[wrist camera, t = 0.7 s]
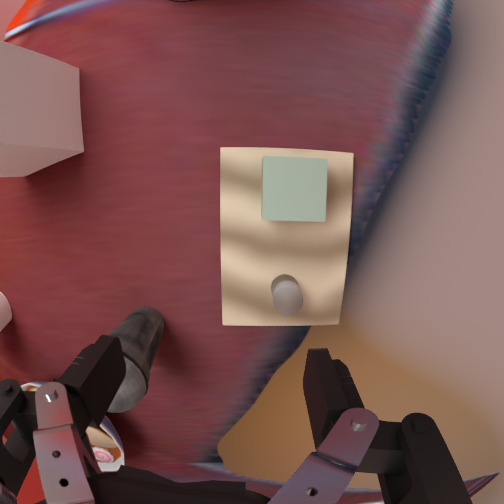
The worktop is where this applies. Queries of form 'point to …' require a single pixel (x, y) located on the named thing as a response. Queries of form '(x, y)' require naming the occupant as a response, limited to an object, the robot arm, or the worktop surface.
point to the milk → (37, 111)
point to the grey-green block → (293, 188)
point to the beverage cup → (137, 355)
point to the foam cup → (4, 312)
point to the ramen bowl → (98, 439)
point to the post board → (281, 245)
